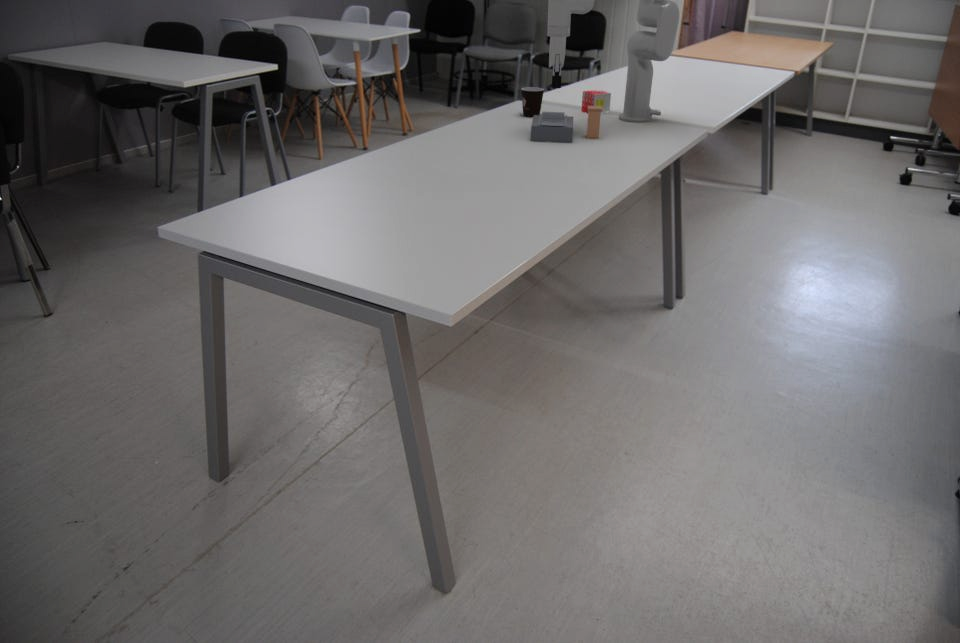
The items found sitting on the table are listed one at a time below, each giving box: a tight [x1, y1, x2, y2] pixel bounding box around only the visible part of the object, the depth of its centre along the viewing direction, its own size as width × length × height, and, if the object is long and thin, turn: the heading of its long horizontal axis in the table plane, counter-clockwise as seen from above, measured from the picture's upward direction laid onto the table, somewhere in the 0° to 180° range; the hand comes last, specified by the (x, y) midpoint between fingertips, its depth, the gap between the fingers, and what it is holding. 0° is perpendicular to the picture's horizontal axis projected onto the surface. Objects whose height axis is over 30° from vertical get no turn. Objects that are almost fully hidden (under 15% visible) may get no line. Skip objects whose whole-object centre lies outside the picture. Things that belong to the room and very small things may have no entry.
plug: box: [586, 106, 602, 139], centre depth 255 cm, size 5×5×10 cm
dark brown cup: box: [520, 86, 545, 118], centre depth 286 cm, size 12×9×10 cm
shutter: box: [541, 111, 566, 126], centre depth 250 cm, size 8×8×3 cm
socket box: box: [530, 113, 574, 143], centre depth 256 cm, size 14×18×6 cm
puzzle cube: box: [581, 89, 612, 115], centre depth 293 cm, size 8×8×8 cm
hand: (556, 87), depth 256 cm, fingers closed
